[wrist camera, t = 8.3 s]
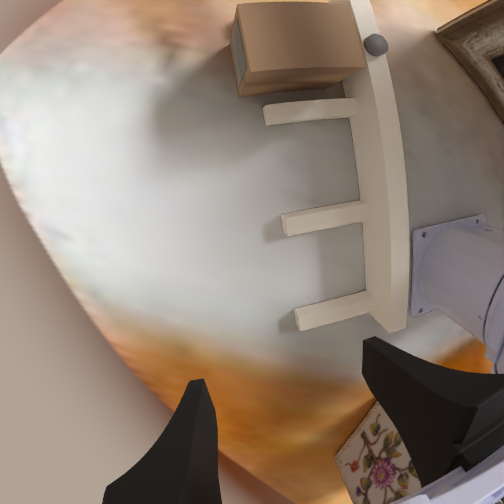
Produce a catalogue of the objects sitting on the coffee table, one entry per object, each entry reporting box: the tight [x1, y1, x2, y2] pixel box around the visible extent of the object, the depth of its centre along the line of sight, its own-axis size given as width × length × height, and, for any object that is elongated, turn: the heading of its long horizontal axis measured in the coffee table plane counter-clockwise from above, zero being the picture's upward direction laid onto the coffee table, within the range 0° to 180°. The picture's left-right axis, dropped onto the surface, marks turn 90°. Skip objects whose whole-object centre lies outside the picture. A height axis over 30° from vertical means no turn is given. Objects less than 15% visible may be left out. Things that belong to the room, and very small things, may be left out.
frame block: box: [230, 2, 365, 97], centre depth 15 cm, size 6×4×6 cm, turn 100°
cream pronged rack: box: [263, 0, 409, 334], centre depth 18 cm, size 8×24×5 cm, turn 10°
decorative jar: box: [334, 401, 422, 504], centre depth 21 cm, size 12×12×18 cm
